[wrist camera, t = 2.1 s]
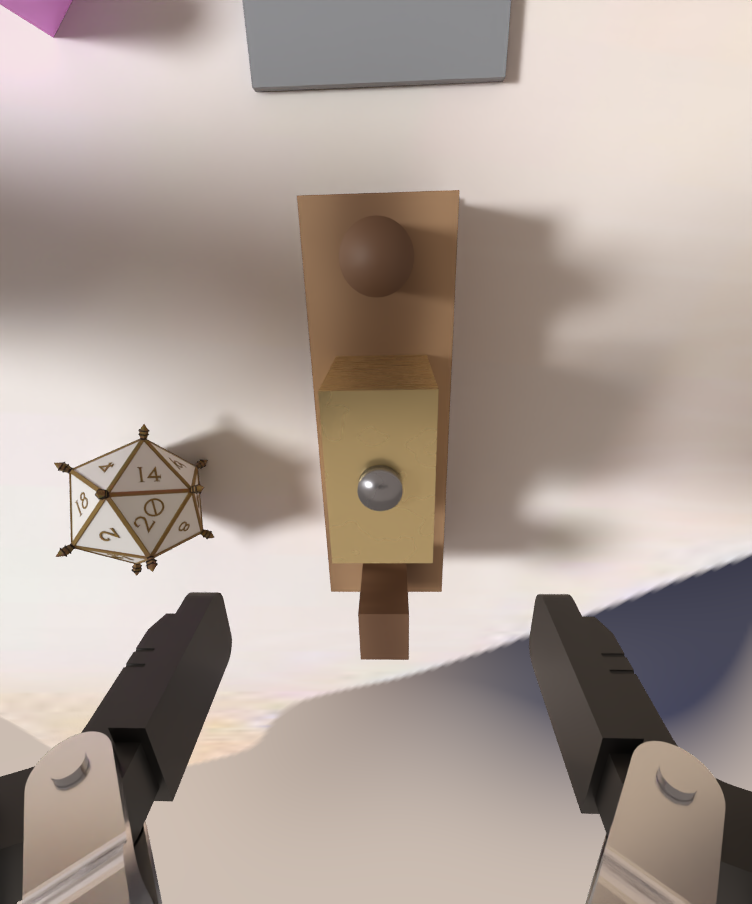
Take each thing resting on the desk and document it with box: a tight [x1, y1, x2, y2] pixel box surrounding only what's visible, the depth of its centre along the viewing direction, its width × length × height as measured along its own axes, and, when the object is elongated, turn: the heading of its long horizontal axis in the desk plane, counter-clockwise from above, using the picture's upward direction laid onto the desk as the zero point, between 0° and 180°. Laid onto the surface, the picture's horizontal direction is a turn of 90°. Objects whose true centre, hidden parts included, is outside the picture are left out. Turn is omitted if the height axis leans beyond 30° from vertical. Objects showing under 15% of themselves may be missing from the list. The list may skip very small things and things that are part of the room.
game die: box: [54, 424, 214, 575], centre depth 27 cm, size 9×8×10 cm
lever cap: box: [318, 355, 439, 563], centre depth 21 cm, size 4×8×7 cm, turn 1°
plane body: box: [297, 190, 459, 660], centre depth 23 cm, size 7×22×11 cm, turn 1°
